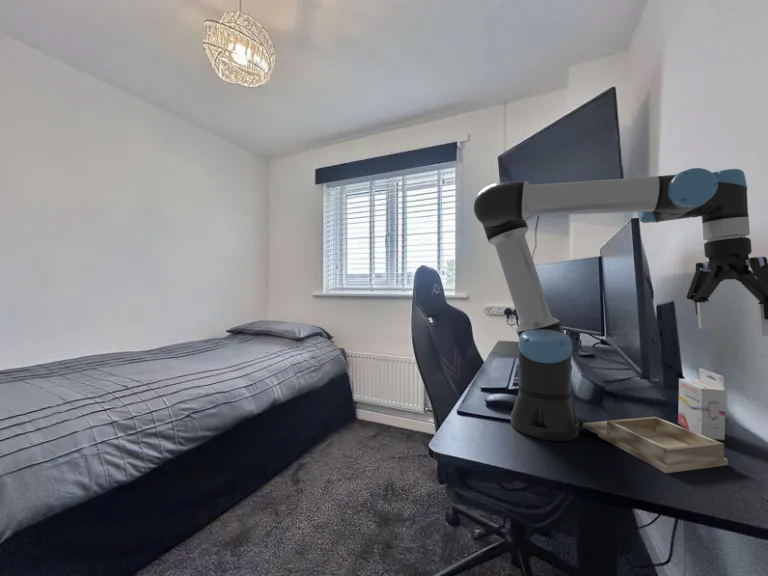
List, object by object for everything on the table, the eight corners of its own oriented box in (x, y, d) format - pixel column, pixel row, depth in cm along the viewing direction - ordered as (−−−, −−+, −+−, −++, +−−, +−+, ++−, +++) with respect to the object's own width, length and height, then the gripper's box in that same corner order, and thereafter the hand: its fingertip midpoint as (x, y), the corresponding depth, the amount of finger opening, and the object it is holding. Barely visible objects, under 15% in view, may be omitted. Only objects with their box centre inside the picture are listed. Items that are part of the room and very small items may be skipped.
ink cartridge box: (676, 423, 85) (677, 366, 85) (699, 425, 84) (700, 367, 84) (700, 438, 77) (702, 375, 77) (726, 440, 76) (727, 376, 76)
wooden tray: (582, 427, 82) (583, 410, 82) (633, 423, 85) (633, 406, 85) (665, 473, 63) (666, 451, 63) (727, 465, 66) (728, 444, 66)
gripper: (811, 227, 64) (820, 337, 64) (693, 245, 89) (699, 325, 89) (771, 229, 64) (780, 339, 64) (665, 247, 89) (671, 326, 89)
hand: (733, 331), depth 76 cm, fingers open, 13 cm apart
